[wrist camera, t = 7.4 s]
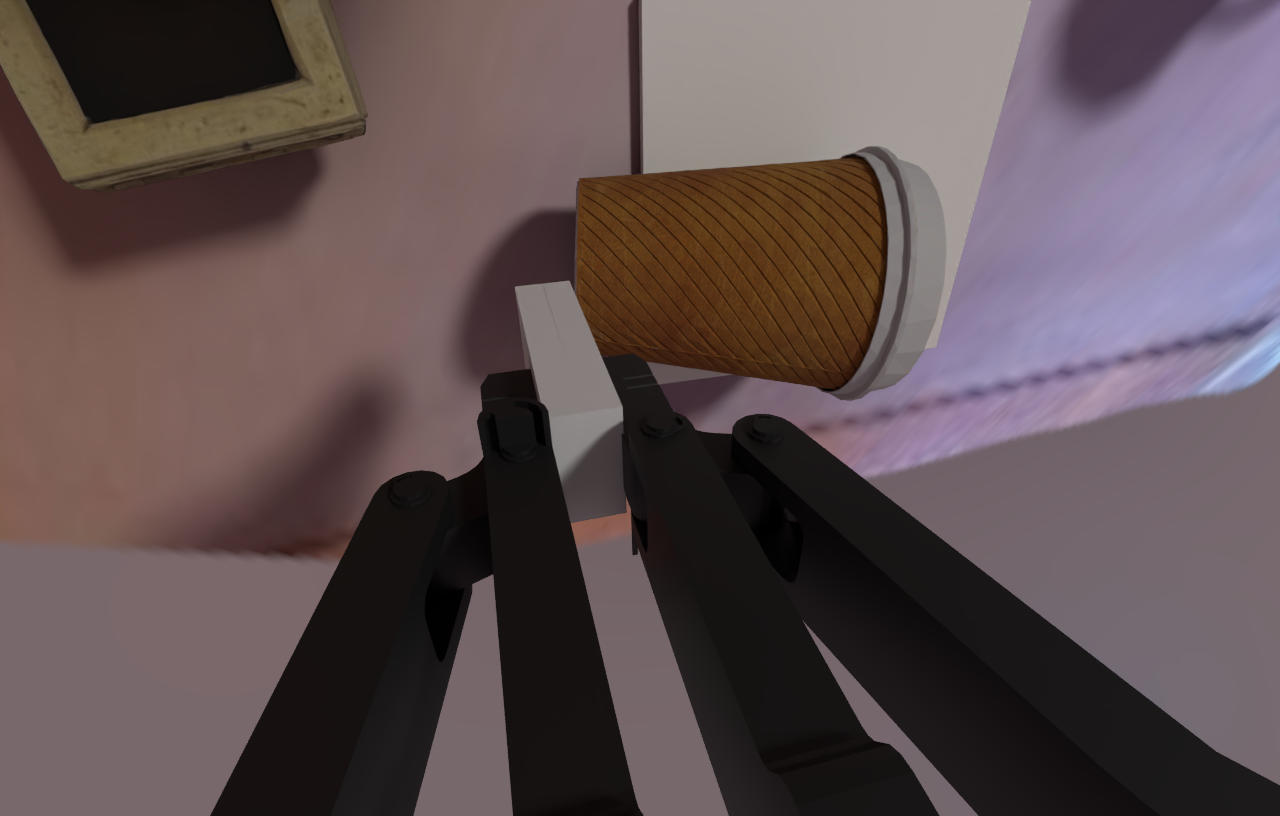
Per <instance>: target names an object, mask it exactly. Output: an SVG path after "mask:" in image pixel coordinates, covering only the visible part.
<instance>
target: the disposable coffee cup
mask: <svg viewBox="0 0 1280 816" xmlns="http://www.w3.org/2000/svg"><path fill="white" fill-rule="evenodd" d="M946 252H947V248H946V231H945V221H944V215H943V208H942V205H941V202H940V199H939V196H938V192H937V190H936V188H935V186H934V184H933V183H932V181H931V179H930V177H929V175H928V174H927V173H926V172H925V171H924V170H923V169H921V168H920V167H919V166H917V165H915V164H912V163H909V162H906V161H903V160H900V159H898V158H897V157H896V155H895V154H893V153H892V152H891V151H890V150H888V149H887V148H883V147H880V146H868V147H865V148H863V149H861V150H858V151H857V152H855V153H851V154H847V155H843V156H842V157H841V158H839V159H830V160H819V161H807V162H795V163H781V164H766V165H754V166H743V167H729V168H714V169H699V170H684V171H675V172H673V171H672V172H662V173H648V174H634V175H624V176H609V177H595V178H579V181H578V182H577V189H576V229H575V270H574V293H575V295H576V298H577V300H578V302H579V305H580V307H581V309H582V312H583V314H584V317H585V319H586V321H587V324H588V326H589V328H590V331H591V333H592V335H593V338H594V340H595V343H596V345H597V347H598V350H599V352H600V354H601V355H605V356H617V355H625V354H632V353H633V354H635V355H636V356H638V357H640V358H641V359H643V360H644V361H646V362H652V363H658V364H665V365H672V366H679V367H686V368H692V369H700V370H707V371H713V372H720V373H727V374H734V375H740V376H747V377H754V378H761V379H767V380H774V381H781V382H788V383H794V384H802V385H808V386H814V387H816V388H818V389H819V390H821V391H822V392H826V393H830V394H831V395H833V396H835V397H837V398H838V399H840V400H849V401H851V400H855V399H859V398H862V397H863V396H865V395H866V394H867V393H869V392H870V391H874V390H879V389H884V388H887V387H890V386H892V385H895V384H896V383H897V382H899V381H900V380H901V379H902V378H904V377H905V376H906V375H907V374H908V373H909V372H910V370H911V369H912V367H913V366H914V364H915V363H916V361H917V360H918V358H919V357H920V355H921V354H922V352H923V351H924V349H925V346H926V344H927V341H928V339H929V336H930V333H931V331H932V328H933V326H934V323H935V321H936V318H937V314H938V309H939V305H940V300H941V296H942V291H943V287H944V279H945V265H946Z"/></svg>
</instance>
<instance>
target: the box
mask: <svg viewBox="0 0 1280 816" xmlns="http://www.w3.org/2000/svg"><path fill="white" fill-rule="evenodd" d="M0 65H1V67H2V69H3V71H4V73H5V75H6V77H7V79H8V81H9V83H10V84H11V86H12V88H13V90H14V92H15V94H16V96H17V98H18V100H19V102H20V104H21V106H22V107H23V109H24V111H25V113H26V115H27V116H28V118H29V120H30V122H31V124H32V125H33V127H34V129H35V131H36V133H37V134H38V136H39V138H40V140H41V142H42V143H43V145H44V147H45V149H46V150H47V152H48V154H49V156H50V158H51V159H52V161H53V163H54V165H55V166H56V168H57V170H58V172H59V174H60V175H61V177H62V179H63V180H65V181H67V182H68V183H70V184H72V185H73V186H75V187H77V188H79V189H92V190H95V191H99V192H102V193H108V192H113V191H118V190H123V189H128V188H132V187H137V186H141V185H145V184H151V183H156V182H161V181H165V180H169V179H174V178H180V177H187V176H191V175H196V174H200V173H204V172H208V171H212V170H216V169H220V168H225V167H229V166H234V165H239V164H243V163H248V162H253V161H257V160H261V159H266V158H270V157H274V156H279V155H283V154H288V153H293V152H297V151H302V150H307V149H311V148H316V147H320V146H324V145H328V144H332V143H336V142H340V141H344V140H348V139H352V138H354V137H357V136H361V135H364V134H365V132H366V121H365V118H366V117H367V116H368V113H367V110H366V107H365V104H364V101H363V98H362V95H361V92H360V89H359V85H358V82H357V79H356V77H355V74H354V71H353V68H352V65H351V62H350V59H349V56H348V53H347V50H346V47H345V44H344V41H343V38H342V36H341V33H340V30H339V27H338V24H337V21H336V18H335V15H334V12H333V9H332V6H331V3H330V0H0Z"/></svg>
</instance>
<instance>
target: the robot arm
mask: <svg viewBox="0 0 1280 816" xmlns="http://www.w3.org/2000/svg"><path fill="white" fill-rule="evenodd" d="M515 294H516V301H517V309H518V316H519V324H520V331H521V339H522V346H523V354H524V361H525V368H526V369H525V370H518V371H511V372H503V373H496V374H489V375H488V376H487V378H486V379H485V381H484V382H483V384H482V385H481V399H482V410H483V411H482V412H481V413H480V414H479V416H478V420H477V425H478V430H479V435H480V440H481V445H482V450H483V456H484V457H483V459H482V460H481V462H480V463H479V464H478V465H477V466H476V467H475V468H473V469H472V470H470V471H469V472H467V473H465V474H463V475H461V476H459V477H457V478H454V479H452V480H449V481H446V479H445V478H444V476H442V475H439V474H437V473H435V472H431V471H422V470H421V471H414V472H407V473H404V474H401V475H399V476H396V477H393V478H392V479H390V480H389V481H387V482H386V483H384V484H383V485H381V487H380V488H379V489H378V490H377V492H376V493H375V494H374V496H373V498H372V500H371V502H370V504H369V506H368V507H367V509H366V511H365V513H364V515H363V517H362V519H361V521H360V523H359V525H358V527H357V529H356V531H355V533H354V535H353V537H352V539H351V541H350V543H349V545H348V547H347V549H346V551H345V553H344V555H343V557H342V558H341V560H340V562H339V564H338V566H337V568H336V570H335V572H334V574H333V576H332V578H331V580H330V582H329V584H328V586H327V588H326V590H325V592H324V594H323V596H322V598H321V600H320V602H319V604H318V606H317V607H316V609H315V612H314V613H313V615H312V617H311V619H310V621H309V623H308V625H307V627H306V629H305V631H304V633H303V635H302V637H301V639H300V641H299V643H298V645H297V647H296V649H295V651H294V653H293V655H292V657H291V658H290V660H289V662H288V665H287V666H286V668H285V670H284V672H283V674H282V676H281V678H280V680H279V682H278V684H277V686H276V688H275V690H274V692H273V694H272V696H271V698H270V700H269V702H268V704H267V706H266V708H265V709H264V711H263V713H262V715H261V718H260V719H259V722H258V723H257V725H256V727H255V729H254V731H253V733H252V735H251V737H250V739H249V741H248V743H247V745H246V747H245V749H244V751H243V753H242V755H241V757H240V759H239V760H238V763H237V764H236V766H235V768H234V770H233V772H232V774H231V776H230V778H229V780H228V782H227V784H226V786H225V788H224V790H223V792H222V794H221V796H220V798H219V800H218V802H217V804H216V806H215V808H214V810H213V811H212V813H211V815H210V816H413V815H414V811H415V807H416V803H417V800H418V796H419V792H420V788H421V784H422V781H423V777H424V773H425V769H426V766H427V761H428V758H429V754H430V750H431V746H432V743H433V739H434V735H435V731H436V728H437V724H438V720H439V716H440V712H441V709H442V705H443V701H444V697H445V694H446V690H447V686H448V682H449V678H450V674H451V671H452V667H453V663H454V659H455V655H456V652H457V648H458V644H459V641H460V637H461V633H462V629H463V625H464V622H465V618H466V614H467V610H468V607H469V603H470V599H471V595H472V584H473V583H475V582H478V581H480V580H482V579H484V578H486V577H488V576H490V575H492V574H493V576H494V588H495V600H496V612H497V625H498V637H499V649H500V661H501V674H502V686H503V698H504V710H505V722H506V734H507V746H508V759H509V771H510V783H511V795H512V807H513V816H643V814H642V812H641V811H640V809H639V807H638V804H637V801H636V798H635V794H634V790H633V786H632V781H631V777H630V773H629V769H628V765H627V760H626V756H625V752H624V748H623V743H622V739H621V735H620V730H619V726H618V722H617V718H616V714H615V709H614V705H613V701H612V697H611V693H610V688H609V684H608V680H607V675H606V671H605V667H604V663H603V659H602V654H601V650H600V646H599V641H598V637H597V633H596V629H595V624H594V620H593V616H592V612H591V607H590V604H589V599H588V595H587V590H586V586H585V582H584V578H583V574H582V569H581V565H580V561H579V556H578V552H577V548H576V544H575V540H574V535H573V531H572V527H571V523H573V522H578V521H584V520H589V519H595V518H600V517H605V516H611V515H616V514H621V513H627V511H626V497H627V500H628V503H629V505H630V508H631V524H632V550H633V551H632V552H633V555H637V554H638V549H639V552H640V554H641V558H642V561H643V564H644V567H645V569H646V572H647V575H648V578H649V581H650V584H651V587H652V590H653V593H654V596H655V599H656V602H657V605H658V608H659V611H660V614H661V616H662V620H663V623H664V626H665V629H666V631H667V634H668V637H669V640H670V643H671V646H672V649H673V652H674V655H675V658H676V661H677V664H678V666H679V670H680V673H681V676H682V678H683V681H684V684H685V687H686V690H687V693H688V696H689V699H690V702H691V705H692V708H693V711H694V714H695V717H696V720H697V723H698V726H699V728H700V732H701V735H702V738H703V741H704V744H705V747H706V750H707V753H708V755H709V758H710V761H711V764H712V767H713V770H714V773H715V776H716V779H717V782H718V785H719V788H720V791H721V794H722V797H723V800H724V802H725V805H726V809H727V811H728V814H729V816H939V814H938V813H937V811H936V809H935V808H934V806H933V804H932V802H931V801H930V799H929V797H928V796H927V794H926V792H925V791H924V789H923V787H922V786H921V784H920V782H919V781H918V779H917V777H916V776H915V774H914V772H913V771H912V769H911V768H910V766H909V765H908V764H907V762H906V761H905V760H904V758H903V757H902V755H901V754H900V753H899V752H898V751H896V750H895V749H894V748H893V747H892V746H891V745H890V744H886V743H881V742H876V741H874V740H873V739H872V738H870V737H869V736H868V735H867V733H866V732H865V730H864V729H863V727H862V726H861V724H860V722H859V720H858V719H857V717H856V715H855V713H854V711H853V710H852V708H851V706H850V704H849V703H848V701H847V699H846V697H845V695H844V694H843V692H842V690H841V688H840V686H839V685H838V683H837V681H836V679H835V678H834V676H833V674H832V672H831V671H830V669H829V667H828V665H827V663H826V662H825V660H824V658H823V656H822V654H821V653H820V651H819V649H818V647H817V646H816V644H815V642H814V640H813V639H812V637H811V635H810V633H809V631H808V630H807V628H806V626H805V624H804V622H805V623H806V624H807V626H808V627H809V628H810V629H811V630H812V631H813V632H814V633H815V634H816V636H817V637H818V638H819V639H820V640H821V641H822V642H823V643H824V644H825V646H826V647H827V648H828V649H829V650H830V651H831V652H832V653H833V654H834V656H835V657H836V658H837V659H838V660H839V661H840V662H841V663H842V664H843V666H844V667H845V668H846V669H847V670H848V671H849V672H850V673H851V674H852V676H853V677H854V678H855V679H856V680H857V681H858V682H859V683H860V684H861V686H862V687H863V688H864V689H865V690H866V691H867V692H868V693H869V694H870V695H871V697H872V698H873V699H874V700H875V701H876V702H877V703H878V704H879V705H880V707H881V708H882V709H883V710H884V711H885V712H886V713H887V714H888V716H889V717H890V718H891V719H892V720H893V721H894V722H895V723H896V724H897V726H898V727H899V728H900V729H901V730H902V731H903V732H904V733H905V734H906V735H907V737H908V738H909V739H910V740H911V741H912V742H913V743H914V744H915V746H917V748H918V749H919V750H920V751H921V752H922V753H923V754H924V756H925V757H926V758H927V759H928V760H929V761H930V762H931V763H932V764H933V766H934V767H935V768H936V769H937V770H938V771H939V772H940V773H941V774H942V776H943V777H944V778H945V779H946V780H947V781H948V782H949V783H950V784H951V786H952V787H953V788H954V789H955V790H956V791H957V792H958V793H959V794H960V796H961V797H962V798H963V799H964V800H965V801H966V802H967V803H968V804H969V805H970V807H972V809H973V810H974V811H975V812H976V813H977V814H978V816H1280V785H1278V784H1276V783H1274V782H1272V781H1270V780H1269V779H1267V778H1265V777H1263V776H1261V775H1259V774H1257V773H1255V772H1253V771H1252V770H1250V769H1248V768H1246V767H1244V766H1242V765H1240V764H1239V763H1237V762H1235V761H1233V760H1231V759H1229V758H1227V757H1225V756H1223V755H1221V754H1220V753H1218V752H1216V751H1215V750H1213V749H1212V748H1211V747H1209V746H1208V745H1207V744H1206V743H1204V742H1203V741H1202V740H1201V739H1199V738H1198V737H1197V736H1195V735H1194V734H1193V733H1191V732H1190V731H1189V730H1188V729H1186V728H1185V727H1184V726H1183V725H1181V724H1180V723H1179V722H1177V721H1176V720H1175V719H1173V718H1172V717H1171V716H1170V715H1168V714H1167V713H1166V712H1164V711H1163V710H1162V709H1161V708H1159V707H1158V706H1157V705H1155V704H1154V703H1153V702H1152V701H1150V700H1149V699H1148V698H1146V697H1145V696H1144V695H1142V694H1141V693H1140V692H1139V691H1137V690H1136V689H1135V688H1133V687H1132V686H1131V685H1129V684H1128V683H1127V682H1125V681H1124V680H1123V679H1122V678H1120V677H1119V676H1118V675H1117V674H1115V673H1114V672H1113V671H1111V670H1110V669H1109V668H1108V667H1106V666H1105V665H1104V664H1102V663H1101V662H1100V661H1099V660H1097V659H1096V658H1094V657H1093V656H1092V655H1091V654H1090V653H1088V652H1087V651H1085V650H1084V649H1083V648H1082V647H1080V646H1079V645H1078V644H1077V643H1075V642H1074V641H1073V640H1071V639H1070V638H1069V637H1068V636H1066V635H1065V634H1064V633H1062V632H1061V631H1060V630H1058V629H1057V628H1056V627H1055V626H1053V625H1052V624H1051V623H1049V622H1048V621H1047V620H1046V619H1044V618H1043V617H1042V616H1040V615H1039V614H1038V613H1036V612H1035V611H1034V610H1033V609H1031V608H1030V607H1029V606H1027V605H1026V604H1025V603H1024V602H1022V601H1021V600H1020V599H1018V598H1017V597H1016V596H1014V595H1013V594H1012V593H1011V592H1009V591H1008V590H1007V589H1005V588H1004V587H1003V586H1002V585H1000V584H999V583H998V582H996V581H995V580H994V579H993V578H991V577H990V576H989V575H987V574H986V573H985V572H984V571H982V570H981V569H980V568H978V567H977V566H976V565H975V564H973V563H972V562H971V561H969V560H968V559H967V558H965V557H964V556H963V555H962V554H960V553H959V552H958V551H956V550H955V549H954V548H952V547H951V546H950V545H949V544H947V543H946V542H945V541H944V540H942V539H940V537H938V536H937V535H936V534H934V533H933V532H932V531H931V530H929V529H928V528H927V527H925V526H924V525H923V524H922V523H920V522H919V521H918V520H916V519H915V518H914V517H912V516H911V515H910V514H909V513H907V512H906V511H905V510H903V509H902V508H901V507H899V506H898V505H897V504H896V503H894V502H893V501H892V500H891V499H889V498H888V497H887V496H885V495H884V494H883V493H881V492H880V491H879V490H878V489H876V488H875V487H874V486H872V485H871V484H870V483H869V482H867V481H866V480H865V479H863V478H862V477H861V476H860V475H858V474H857V473H856V472H854V471H853V470H852V469H850V468H849V467H848V466H847V465H845V464H844V463H843V462H841V461H840V460H839V459H838V458H836V457H835V456H834V455H832V454H831V453H830V452H829V451H827V450H826V449H825V448H823V447H822V446H821V445H819V444H818V443H817V442H816V441H814V440H813V439H812V438H810V437H809V436H808V435H807V434H805V433H804V432H803V431H801V430H800V429H799V428H798V427H796V426H795V425H794V424H792V423H791V422H789V421H787V420H785V419H783V418H781V417H778V416H774V415H770V414H754V415H749V416H745V417H743V418H741V419H740V420H738V421H737V422H736V423H735V425H734V426H733V429H732V434H722V433H708V432H701V431H698V430H695V428H694V427H693V425H692V423H691V422H690V421H689V420H688V419H687V418H686V417H685V416H682V415H680V414H678V413H676V412H673V410H672V408H671V406H670V404H669V403H668V401H667V399H666V397H665V395H664V393H663V392H662V390H661V388H660V386H659V385H658V382H657V380H656V379H655V377H654V376H653V373H652V371H651V369H650V367H649V366H648V364H647V362H646V361H644V360H643V359H641V358H640V357H638V356H636V355H635V354H633V353H632V354H625V355H617V356H610V357H603V358H602V357H601V354H600V352H599V350H598V347H597V345H596V343H595V340H594V338H593V335H592V333H591V331H590V328H589V326H588V324H587V321H586V319H585V317H584V314H583V312H582V309H581V307H580V305H579V302H578V300H577V298H576V295H575V293H574V291H573V288H572V286H571V283H570V281H561V282H552V283H543V284H534V285H525V286H516V287H515ZM802 620H803V621H804V622H803V621H802Z"/></svg>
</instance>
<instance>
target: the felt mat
mask: <svg viewBox="0 0 1280 816" xmlns="http://www.w3.org/2000/svg"><path fill="white" fill-rule="evenodd" d="M1030 4H1031V0H639V83H640V172H641V174H648V173H662V172H672V171H673V172H675V171H684V170H699V169H714V168H729V167H743V166H754V165H766V164H781V163H795V162H807V161H819V160H830V159H839V158H841V157H842V156H843V155H847V154H851V153H855V152H857V151H858V150H861V149H863V148H865V147H868V146H880V147H883V148H887V149H888V150H890V151H891V152H892V153H893V154H895V155H896V157H897V158H898V159H900V160H903V161H906V162H909V163H912V164H915V165H917V166H919V167H920V168H921V169H923V170H924V171H925V172H926V173H927V174H928V175H929V177H930V179H931V181H932V183H933V184H934V186H935V188H936V190H937V192H938V196H939V199H940V202H941V205H942V208H943V215H944V221H945V231H946V248H947V252H946V265H945V279H944V287H943V291H942V296H941V300H940V305H939V309H938V314H937V318H936V321H935V323H934V326H933V328H932V331H931V333H930V336H929V339H928V341H927V344H926V346H925V349H928V348H935V347H936V345H937V342H938V338H939V334H940V331H941V327H942V324H943V320H944V316H945V313H946V309H947V305H948V302H949V298H950V295H951V291H952V287H953V284H954V280H955V276H956V273H957V269H958V266H959V262H960V258H961V255H962V251H963V247H964V244H965V240H966V236H967V233H968V229H969V226H970V222H971V218H972V215H973V211H974V207H975V204H976V200H977V197H978V193H979V189H980V186H981V182H982V178H983V175H984V171H985V167H986V164H987V160H988V157H989V153H990V149H991V146H992V142H993V138H994V135H995V131H996V128H997V124H998V120H999V117H1000V113H1001V109H1002V106H1003V102H1004V98H1005V95H1006V91H1007V88H1008V84H1009V80H1010V77H1011V73H1012V69H1013V66H1014V62H1015V59H1016V55H1017V51H1018V48H1019V44H1020V40H1021V37H1022V33H1023V30H1024V26H1025V22H1026V19H1027V15H1028V11H1029V8H1030ZM647 364H648V366H649V367H650V369H651V371H652V373H653V376H654V377H655V379H656V380H657V382H658V385H660V384H667V383H675V382H682V381H690V380H697V379H704V378H712V377H719V376H727V375H734V374H727V373H720V372H713V371H707V370H700V369H692V368H686V367H679V366H672V365H665V364H658V363H652V362H647Z"/></svg>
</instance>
